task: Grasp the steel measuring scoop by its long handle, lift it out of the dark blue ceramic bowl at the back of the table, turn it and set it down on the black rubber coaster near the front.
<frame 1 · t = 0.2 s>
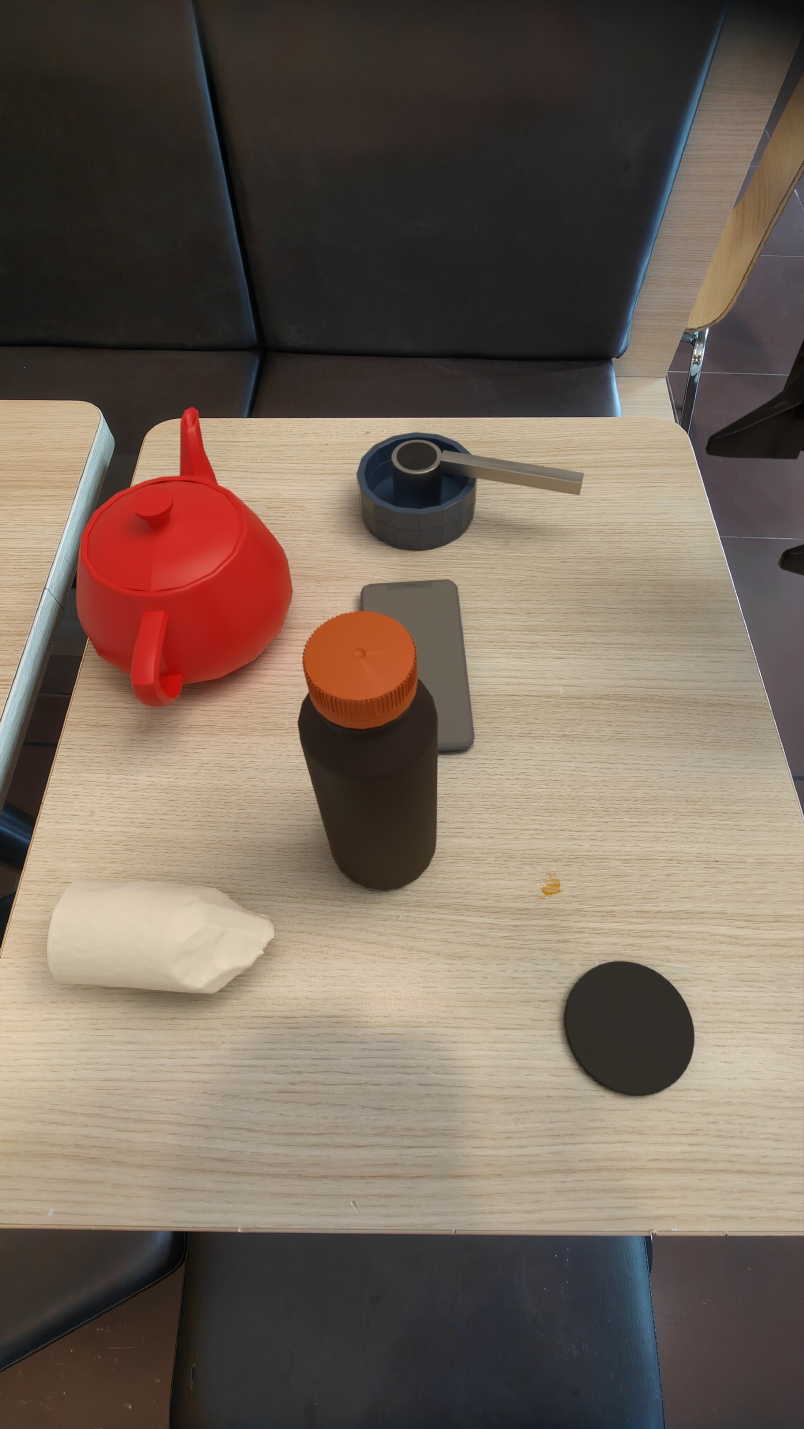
hand: (742, 499, 43), 16 cm above the table, tool horizontal, fingers open, 9 cm apart
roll: (185, 950, 47), on the table
teapot: (200, 614, 61), on the table
bottle: (383, 843, 50), on the table
smartphone: (414, 667, 57), on the table
bowl: (417, 508, 66), on the table
coaster: (627, 1027, 44), on the table
scoop: (417, 504, 66), point 1 cm above the table, touching bowl
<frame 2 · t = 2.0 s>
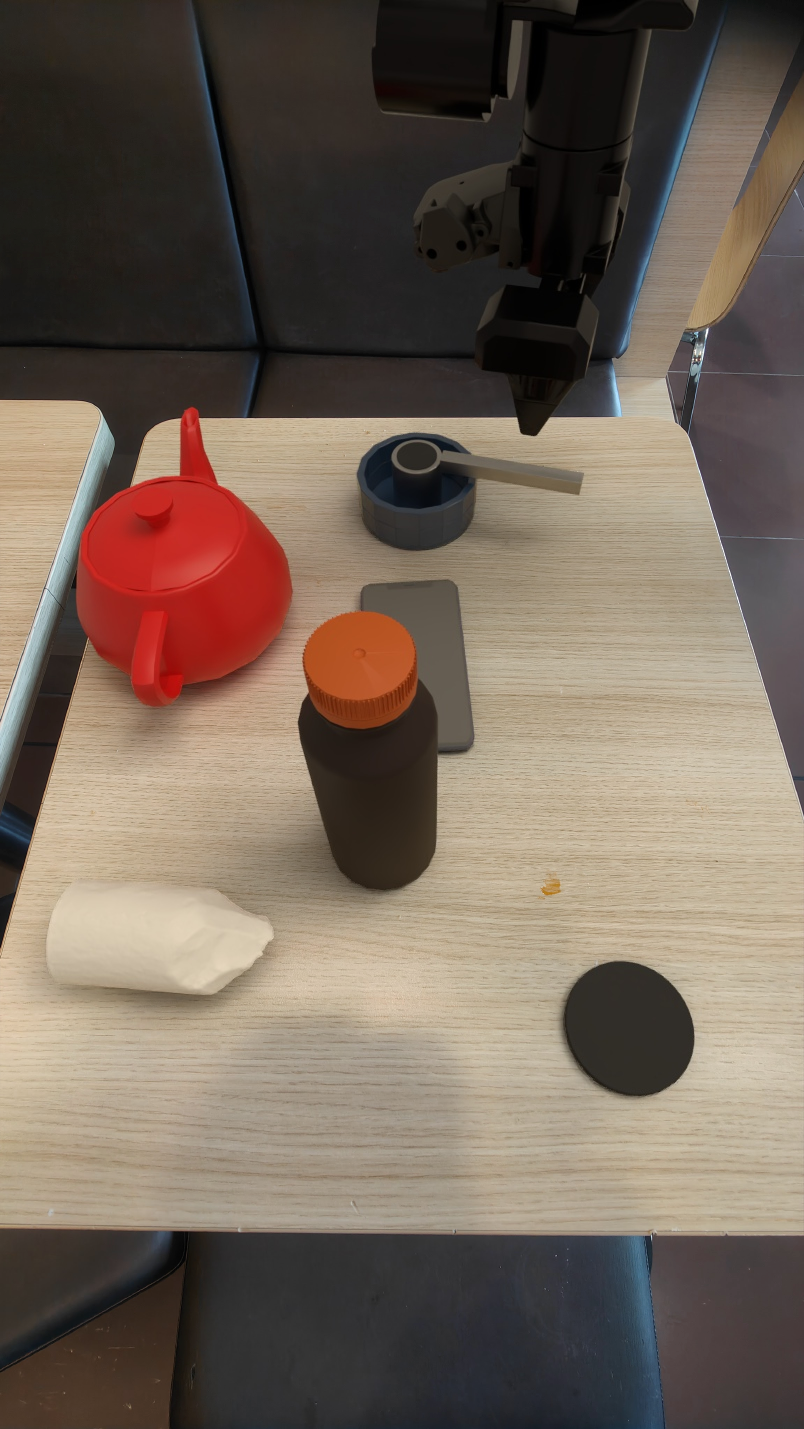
hand: (541, 391, 54), 13 cm above the table, tool pointing down, fingers open, 9 cm apart
nothing on the table moved.
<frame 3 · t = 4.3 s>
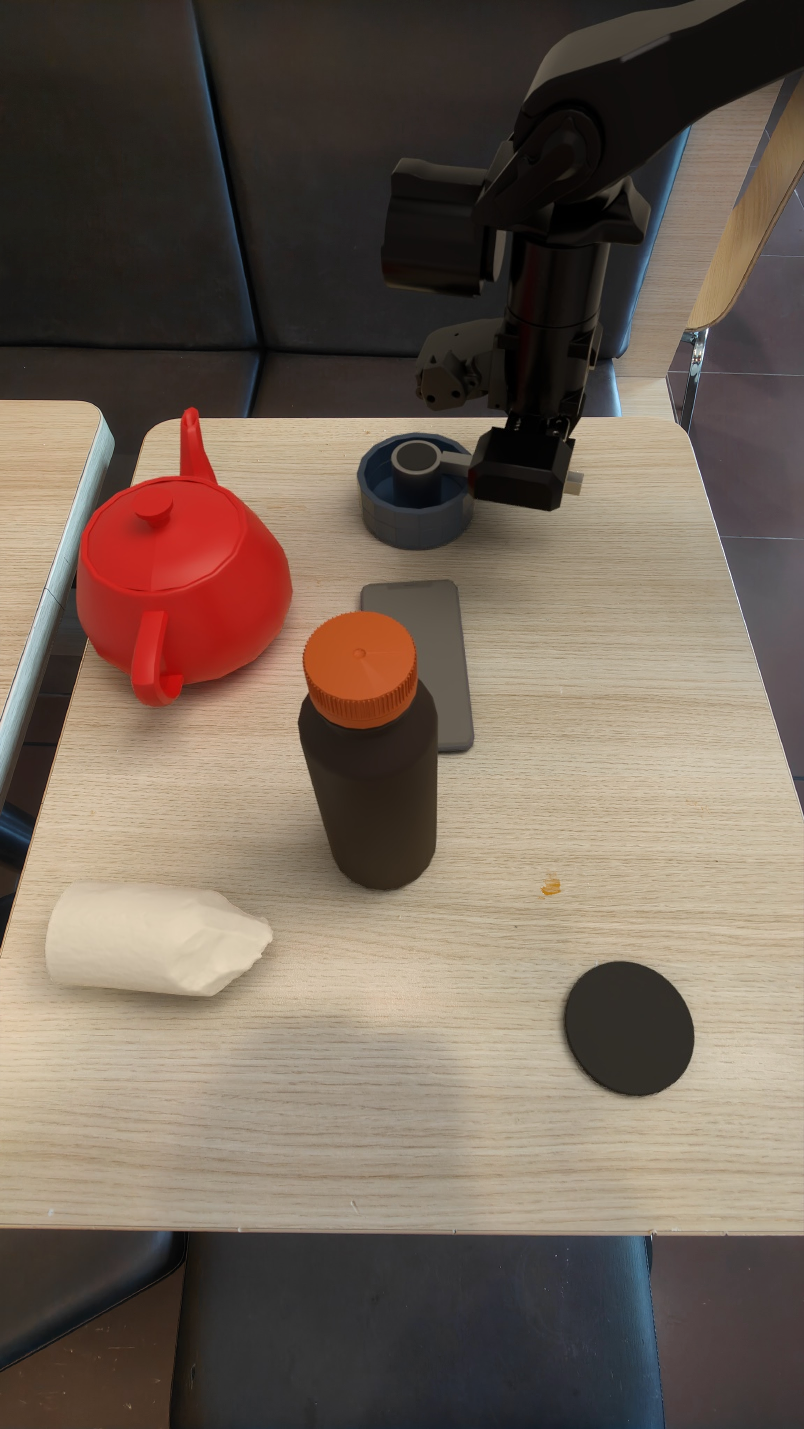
hand: (527, 495, 62), 3 cm above the table, tool pointing down, fingers closed on scoop
scoop: (417, 504, 66), point 1 cm above the table, touching bowl, gripper
everything else where it was.
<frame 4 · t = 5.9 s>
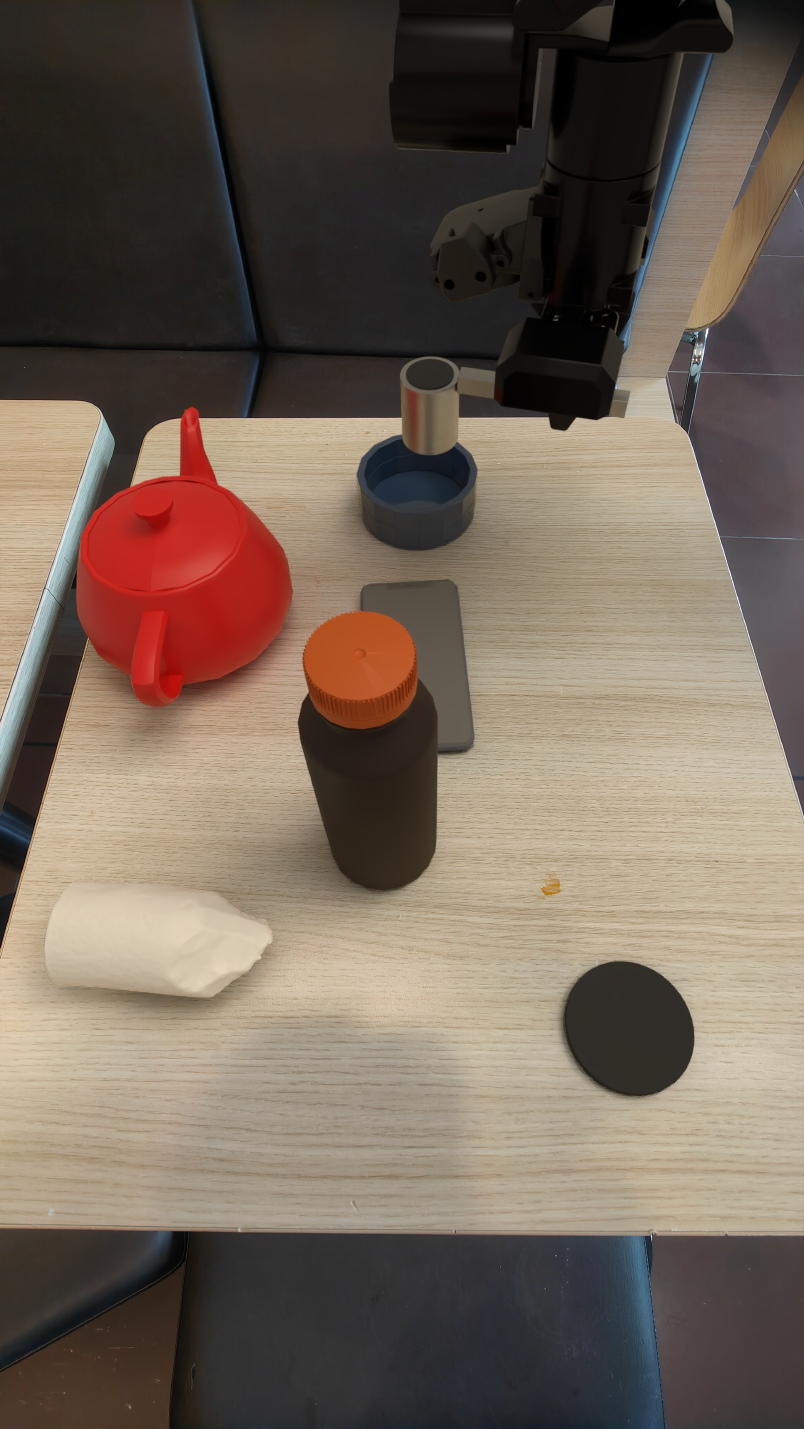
hand: (560, 421, 52), 13 cm above the table, tool pointing down, fingers closed on scoop
scoop: (430, 436, 56), point 10 cm above the table, touching gripper
everything else where it was.
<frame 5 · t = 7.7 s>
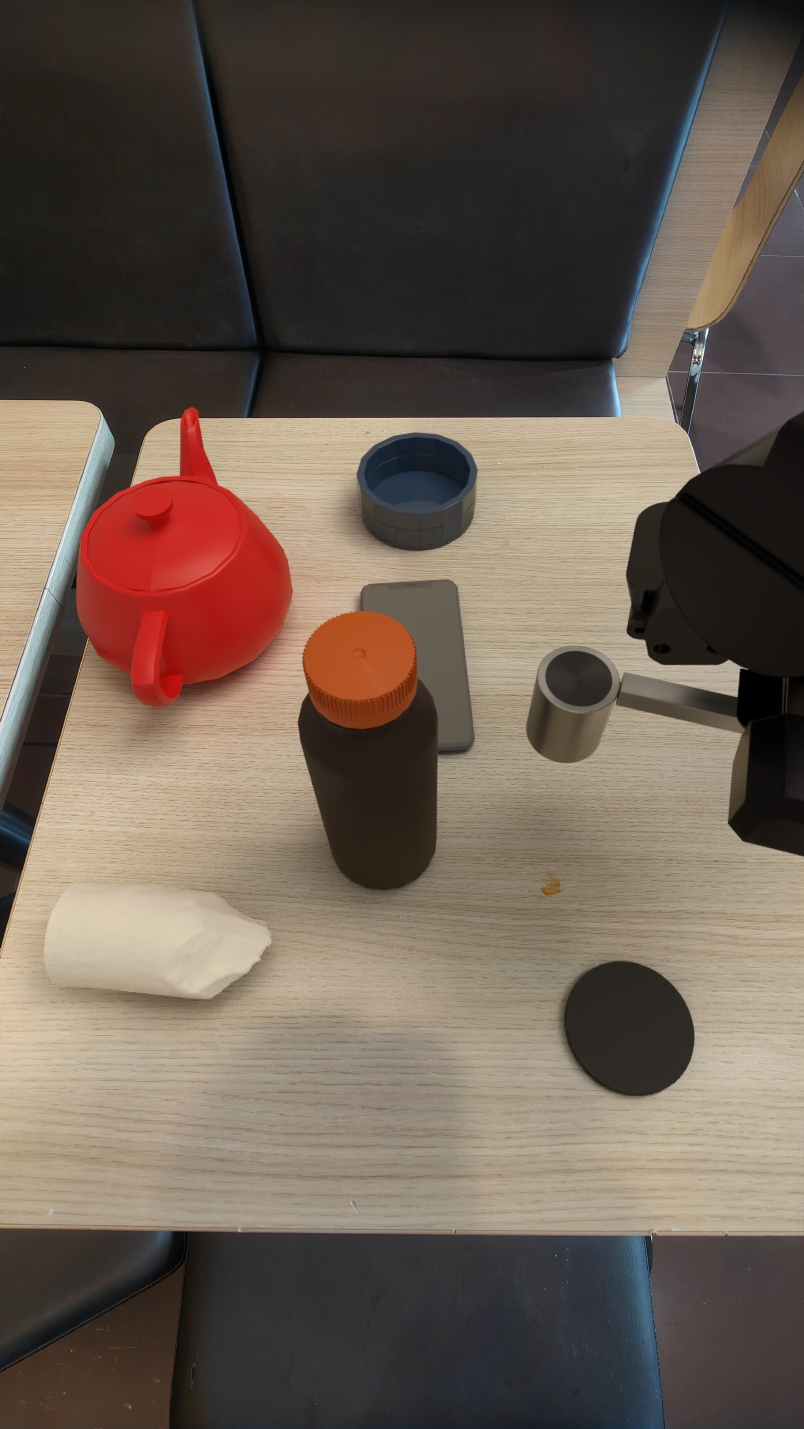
hand: (757, 744, 38), 13 cm above the table, tool pointing down, fingers closed on scoop
scoop: (563, 731, 42), point 10 cm above the table, touching gripper
everything else where it was.
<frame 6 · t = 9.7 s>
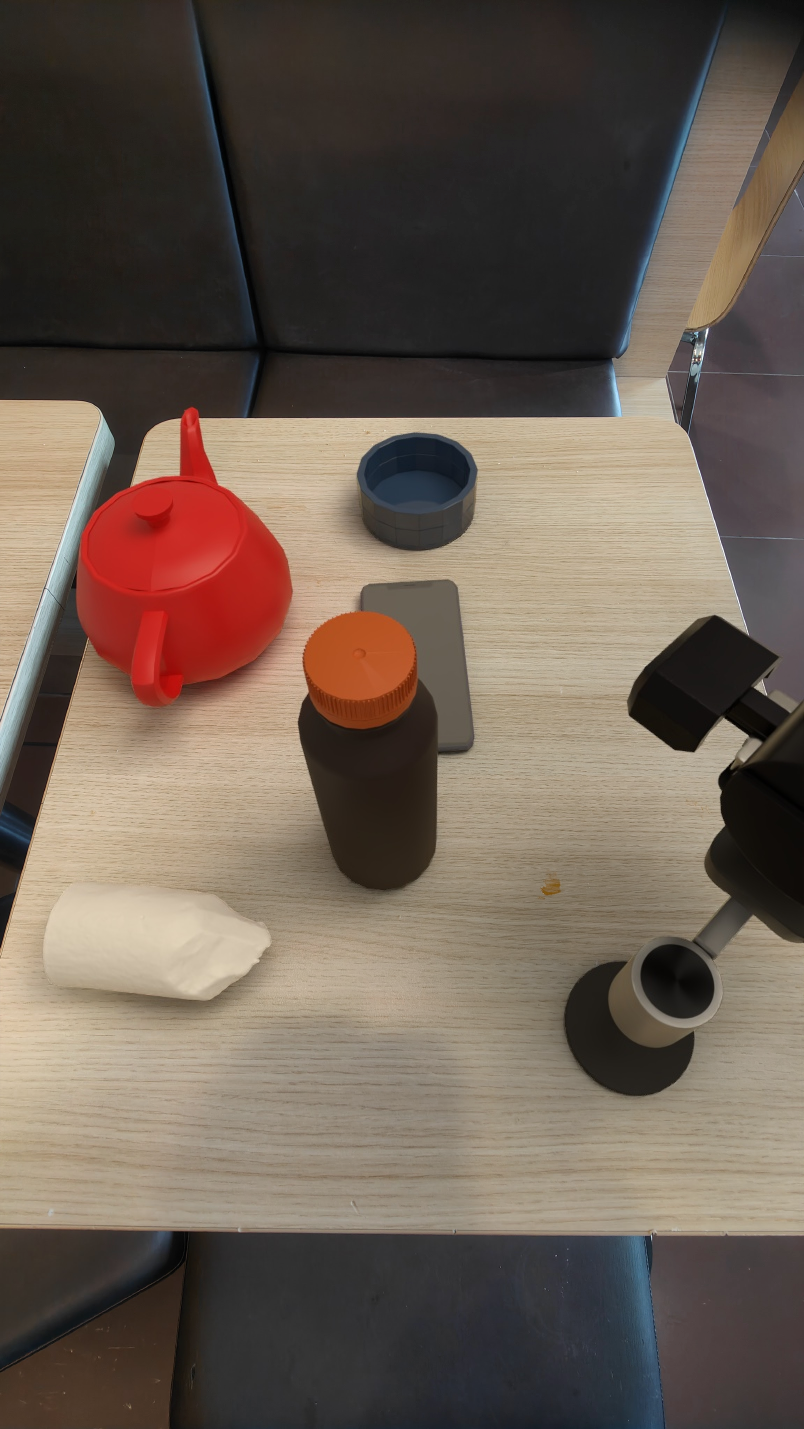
hand: (775, 862, 40), 9 cm above the table, tool pointing down, fingers closed on scoop
scoop: (648, 1004, 39), point 6 cm above the table, touching gripper
everything else where it was.
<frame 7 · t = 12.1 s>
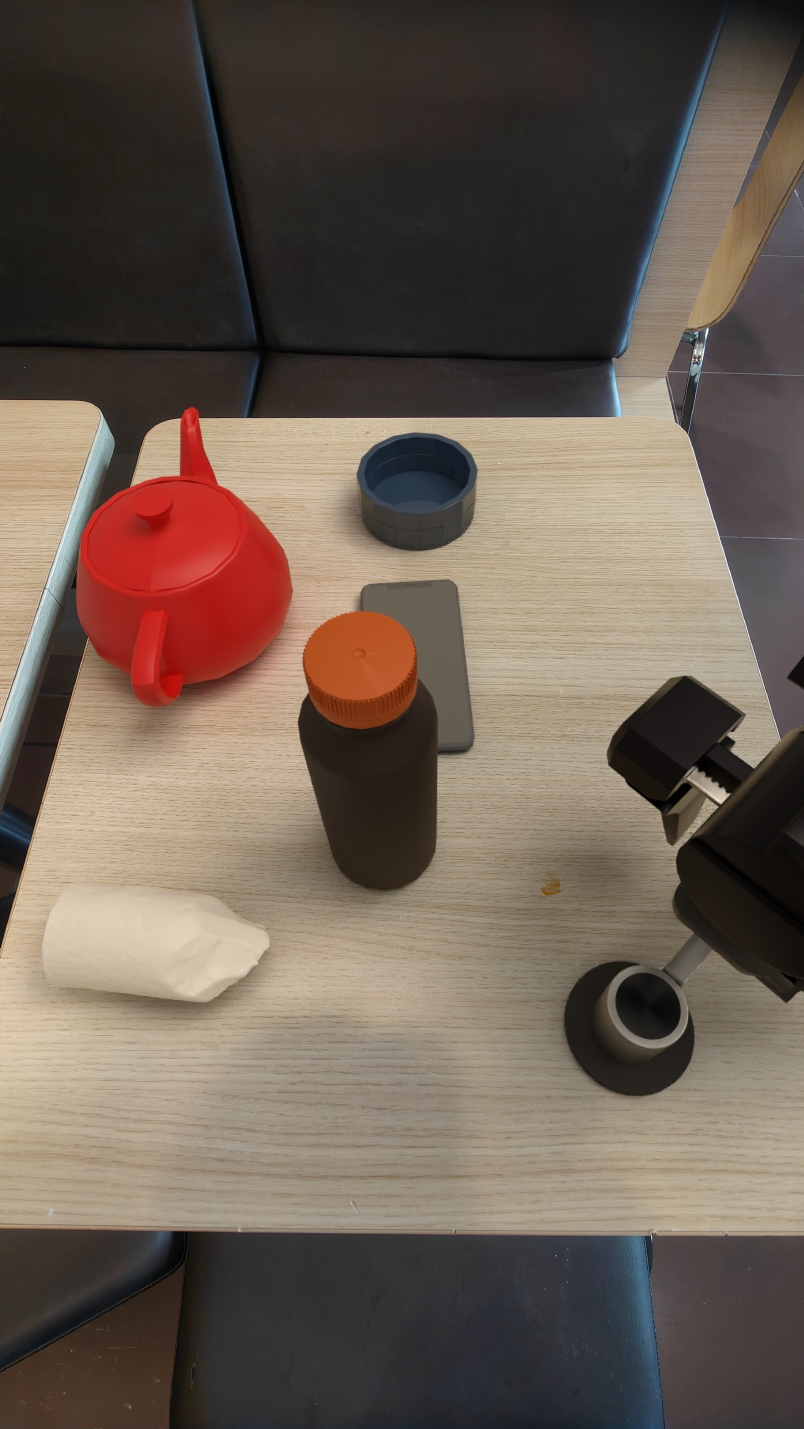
hand: (743, 894, 43), 4 cm above the table, tool pointing down, fingers open, 9 cm apart
scoop: (626, 1025, 43), point 1 cm above the table, touching coaster
everything else where it was.
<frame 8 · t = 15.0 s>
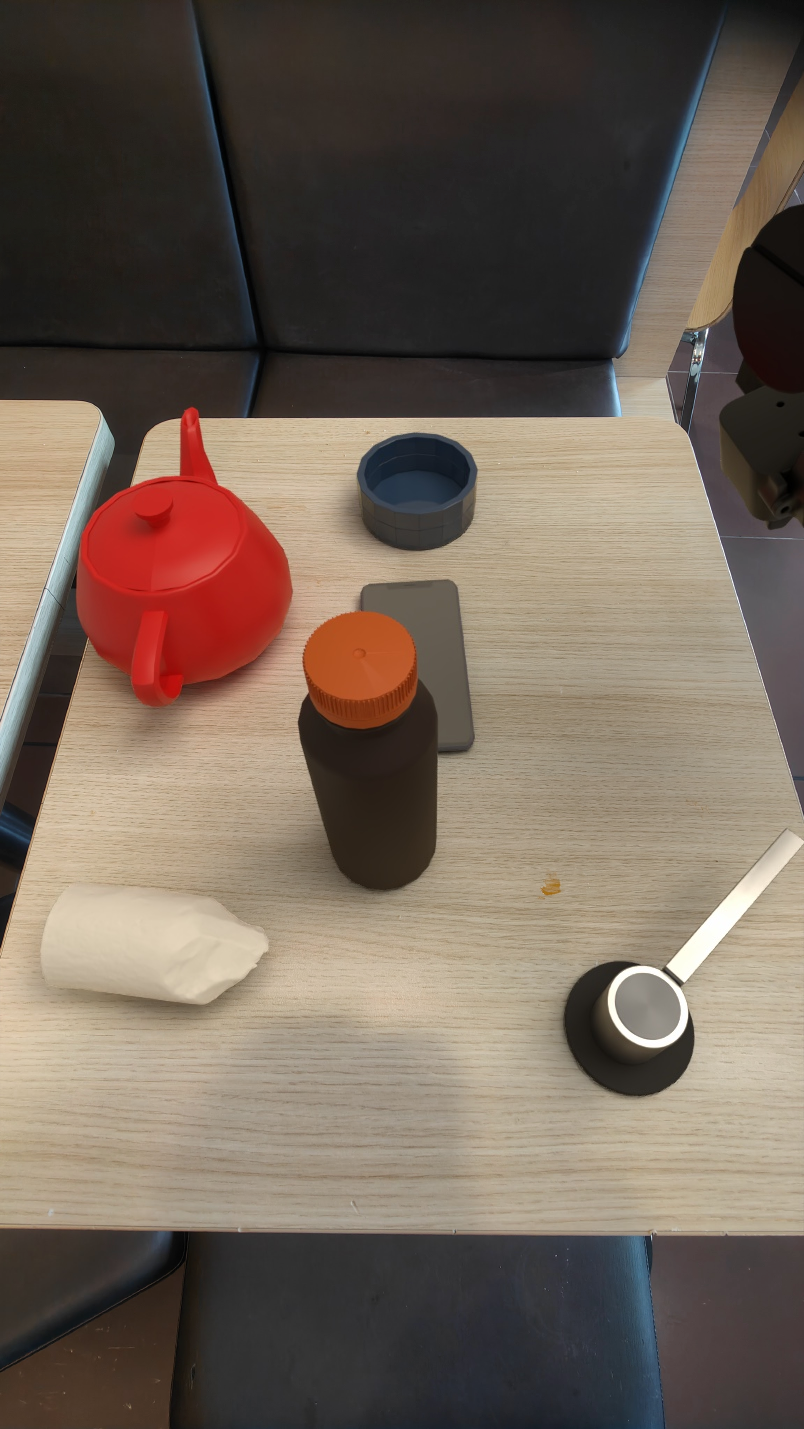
nothing on the table moved.
at the end: scoop 0.2 cm off-centre on the coaster, point 0.6 cm above the coaster's base; scoop touching coaster; scoop tilted 0° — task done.
